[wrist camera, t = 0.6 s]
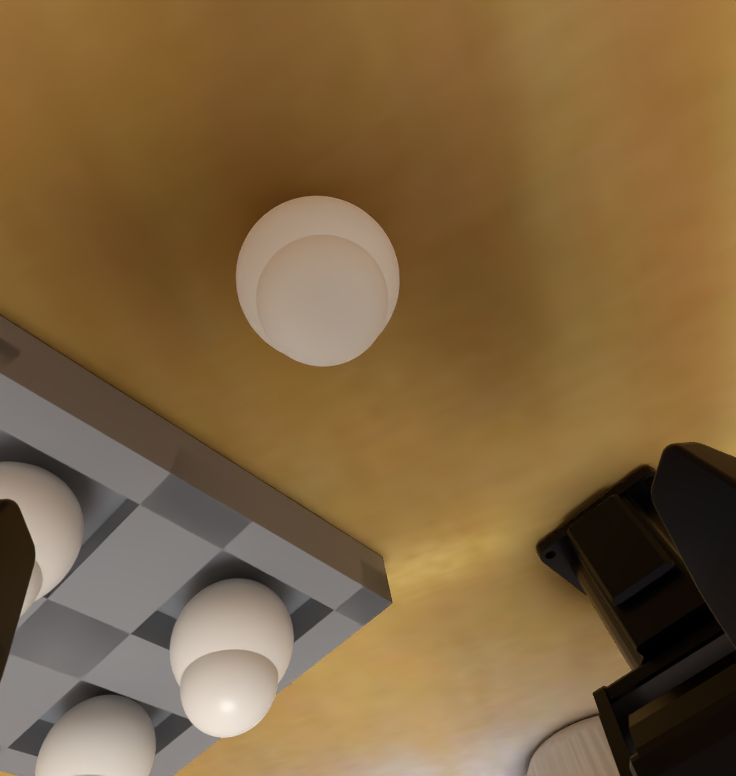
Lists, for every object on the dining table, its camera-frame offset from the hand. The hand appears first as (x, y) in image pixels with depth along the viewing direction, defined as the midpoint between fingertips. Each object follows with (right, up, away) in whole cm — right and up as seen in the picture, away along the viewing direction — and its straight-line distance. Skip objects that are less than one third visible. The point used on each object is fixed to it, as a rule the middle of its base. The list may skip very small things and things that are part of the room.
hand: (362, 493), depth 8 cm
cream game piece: (-2, +6, +10) cm, 12 cm away
